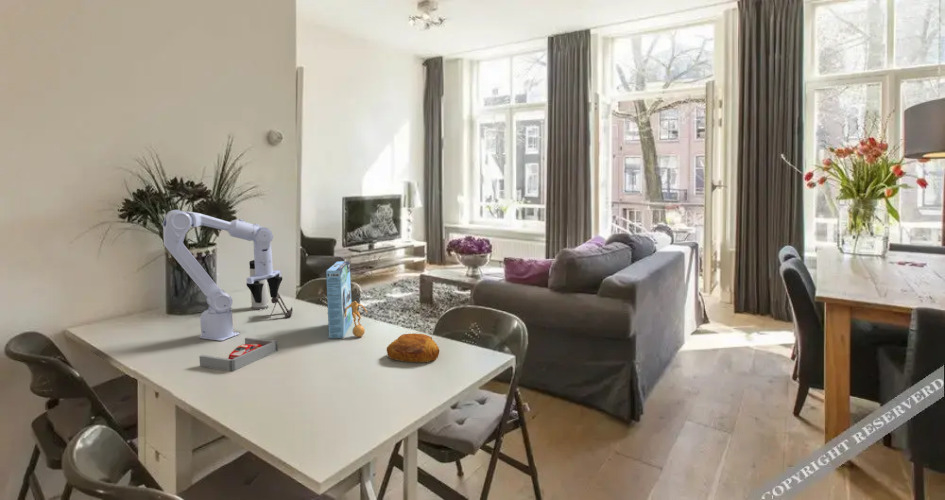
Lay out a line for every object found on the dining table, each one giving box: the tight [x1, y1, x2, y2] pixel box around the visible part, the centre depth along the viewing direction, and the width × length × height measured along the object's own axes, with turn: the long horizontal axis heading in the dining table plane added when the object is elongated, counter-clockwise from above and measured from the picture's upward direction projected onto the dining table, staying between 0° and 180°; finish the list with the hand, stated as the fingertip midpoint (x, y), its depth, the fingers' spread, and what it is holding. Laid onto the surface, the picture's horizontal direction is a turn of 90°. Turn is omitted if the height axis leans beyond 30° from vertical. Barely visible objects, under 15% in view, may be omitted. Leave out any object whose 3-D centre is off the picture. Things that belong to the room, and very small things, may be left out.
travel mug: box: [248, 259, 269, 311], centre depth 204 cm, size 6×7×20 cm
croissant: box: [386, 333, 440, 363], centre depth 150 cm, size 14×16×8 cm
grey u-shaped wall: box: [198, 336, 279, 373], centre depth 148 cm, size 12×18×3 cm, turn 161°
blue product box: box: [325, 260, 353, 339], centre depth 174 cm, size 20×5×23 cm, turn 4°
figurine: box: [345, 300, 368, 338], centre depth 169 cm, size 8×6×12 cm
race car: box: [227, 343, 262, 359], centre depth 149 cm, size 13×5×4 cm, turn 174°
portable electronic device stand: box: [269, 292, 293, 319], centre depth 193 cm, size 9×8×8 cm
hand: (266, 299), depth 175 cm, fingers open, 7 cm apart
